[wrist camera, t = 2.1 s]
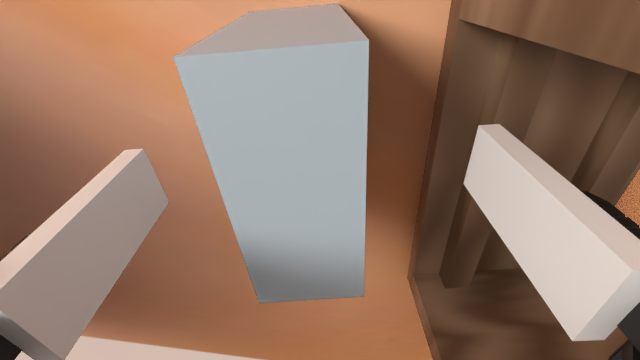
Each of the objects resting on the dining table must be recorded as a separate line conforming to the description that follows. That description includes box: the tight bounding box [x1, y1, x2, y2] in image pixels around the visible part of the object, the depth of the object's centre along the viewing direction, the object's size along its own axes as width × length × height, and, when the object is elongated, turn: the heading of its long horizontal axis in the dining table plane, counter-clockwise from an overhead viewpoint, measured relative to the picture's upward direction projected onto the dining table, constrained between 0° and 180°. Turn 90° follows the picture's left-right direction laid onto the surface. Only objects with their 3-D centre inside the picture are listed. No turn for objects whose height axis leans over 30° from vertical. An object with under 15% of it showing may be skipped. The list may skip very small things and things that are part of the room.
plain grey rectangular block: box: [173, 4, 369, 303], centre depth 14 cm, size 4×10×10 cm, turn 4°
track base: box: [407, 0, 640, 360], centre depth 16 cm, size 14×24×11 cm, turn 4°
